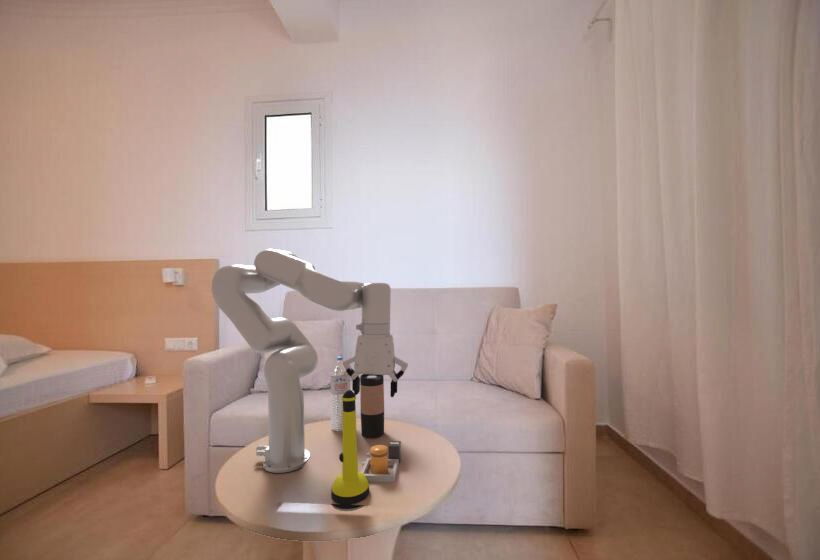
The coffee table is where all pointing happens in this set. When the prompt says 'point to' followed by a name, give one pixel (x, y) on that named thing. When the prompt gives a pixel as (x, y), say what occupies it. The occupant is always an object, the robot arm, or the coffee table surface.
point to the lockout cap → (379, 459)
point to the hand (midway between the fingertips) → (374, 394)
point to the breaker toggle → (395, 450)
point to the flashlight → (349, 463)
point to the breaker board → (380, 476)
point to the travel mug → (372, 405)
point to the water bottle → (338, 393)
